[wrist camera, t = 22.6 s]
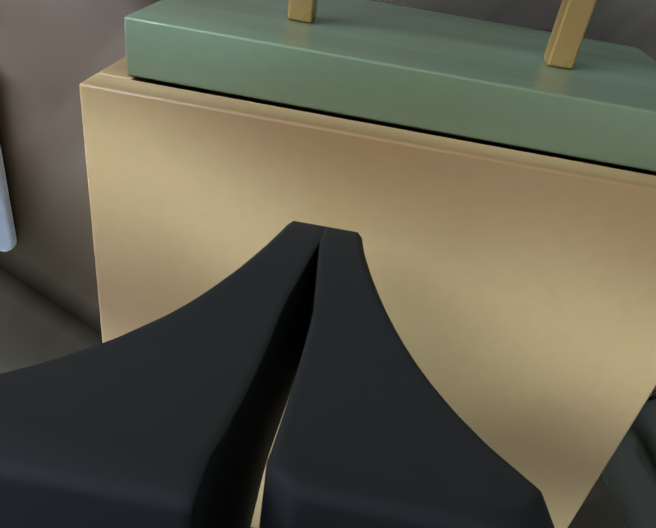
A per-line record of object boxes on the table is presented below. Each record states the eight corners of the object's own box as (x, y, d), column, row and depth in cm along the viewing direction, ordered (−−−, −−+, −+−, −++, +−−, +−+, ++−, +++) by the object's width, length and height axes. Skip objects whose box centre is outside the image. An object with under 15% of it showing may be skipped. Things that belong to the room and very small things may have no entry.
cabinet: (207, 7, 19) (77, 83, 12) (632, 83, 19) (767, 209, 11) (198, 332, 26) (115, 499, 19) (501, 391, 26) (533, 585, 19)
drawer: (227, -263, 15) (106, -356, 9) (732, -180, 14) (941, -222, 9) (206, 306, 24) (142, 434, 19) (506, 364, 24) (533, 513, 18)
